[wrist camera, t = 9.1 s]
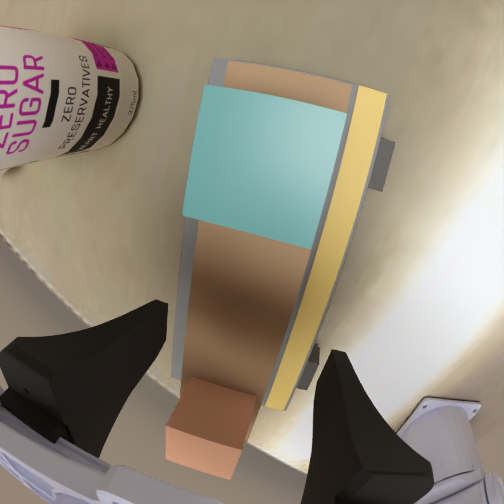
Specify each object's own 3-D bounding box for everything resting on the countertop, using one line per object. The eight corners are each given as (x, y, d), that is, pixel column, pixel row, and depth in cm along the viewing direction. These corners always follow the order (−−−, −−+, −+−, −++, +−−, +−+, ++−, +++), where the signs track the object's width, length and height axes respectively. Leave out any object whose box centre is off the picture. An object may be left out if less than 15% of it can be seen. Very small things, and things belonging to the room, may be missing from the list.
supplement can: (59, 73, 20) (-91, 77, 7) (136, 34, 18) (-31, -13, 5) (72, 159, 23) (-83, 208, 9) (152, 131, 21) (-35, 161, 7)
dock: (300, 388, 27) (297, 414, 24) (183, 355, 28) (170, 377, 25) (394, 105, 17) (407, 100, 14) (227, 67, 18) (213, 57, 16)
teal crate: (313, 214, 13) (311, 249, 9) (219, 191, 13) (181, 215, 10) (337, 119, 11) (346, 113, 8) (238, 97, 12) (204, 84, 8)
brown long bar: (259, 395, 24) (246, 443, 19) (199, 378, 24) (178, 422, 20) (342, 98, 15) (352, 84, 11) (252, 79, 16) (228, 60, 11)
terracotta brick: (244, 431, 19) (230, 479, 15) (187, 414, 19) (165, 459, 16) (256, 396, 17) (241, 450, 14) (191, 376, 18) (165, 425, 14)
